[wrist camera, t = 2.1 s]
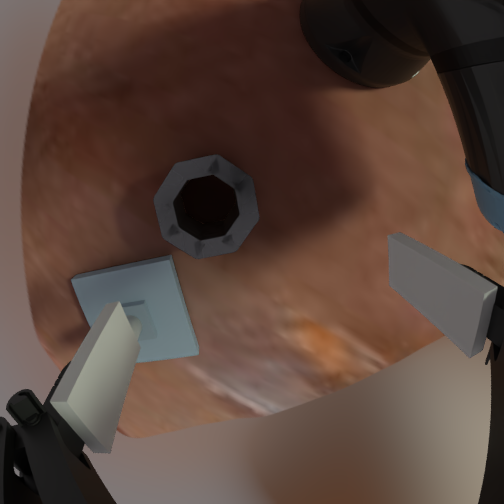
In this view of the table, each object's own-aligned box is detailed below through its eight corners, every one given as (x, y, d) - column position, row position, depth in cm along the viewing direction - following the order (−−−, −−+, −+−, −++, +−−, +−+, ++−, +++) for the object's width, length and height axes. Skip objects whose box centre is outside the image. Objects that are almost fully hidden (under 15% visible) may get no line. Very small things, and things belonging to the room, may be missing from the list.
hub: (160, 166, 27) (146, 170, 21) (241, 150, 28) (247, 148, 22) (178, 243, 30) (169, 264, 24) (255, 228, 30) (264, 246, 25)
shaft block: (76, 274, 29) (26, 327, 19) (171, 254, 30) (149, 309, 19) (111, 358, 33) (86, 423, 23) (199, 347, 34) (195, 419, 23)
